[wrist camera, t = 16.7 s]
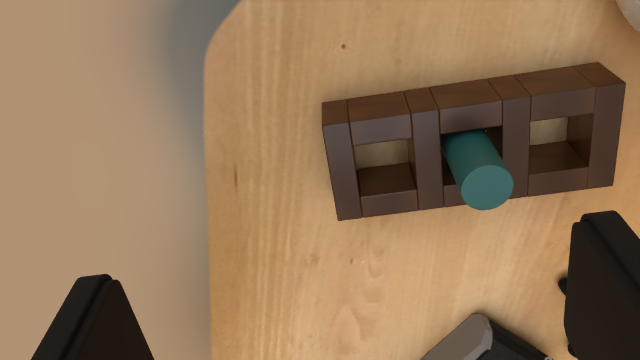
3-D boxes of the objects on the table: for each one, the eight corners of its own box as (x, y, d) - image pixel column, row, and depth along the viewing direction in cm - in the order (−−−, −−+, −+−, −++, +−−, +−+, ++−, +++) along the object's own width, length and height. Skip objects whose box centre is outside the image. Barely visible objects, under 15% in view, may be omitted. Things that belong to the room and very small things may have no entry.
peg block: (336, 192, 43) (337, 221, 40) (321, 102, 40) (321, 126, 36) (589, 158, 42) (613, 186, 39) (598, 61, 38) (626, 82, 35)
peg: (438, 153, 42) (461, 213, 35) (436, 115, 40) (460, 169, 33) (481, 148, 42) (513, 206, 35) (481, 108, 40) (514, 162, 33)
